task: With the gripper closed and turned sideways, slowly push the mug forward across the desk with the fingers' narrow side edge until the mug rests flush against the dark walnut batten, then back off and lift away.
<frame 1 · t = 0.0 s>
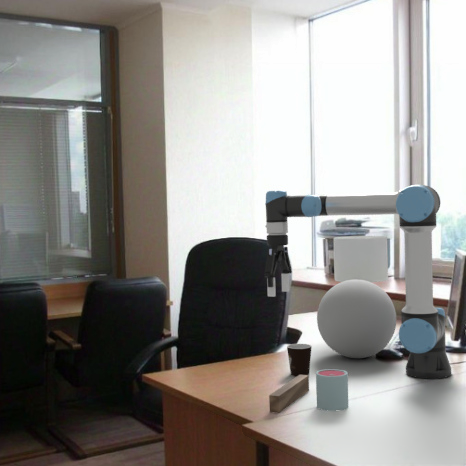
hand: (278, 294, 253), 28 cm above the table, fingers open, 13 cm apart
sphere: (357, 357, 275), on the table
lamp: (362, 340, 308), on the table
mug: (335, 405, 212), on the table
coffee mug: (300, 373, 252), on the table
batten: (290, 400, 217), on the table
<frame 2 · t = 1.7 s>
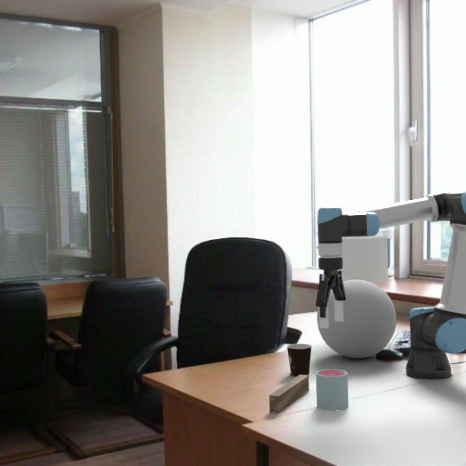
hand: (331, 324, 223), 22 cm above the table, fingers open, 13 cm apart
nothing on the table moved.
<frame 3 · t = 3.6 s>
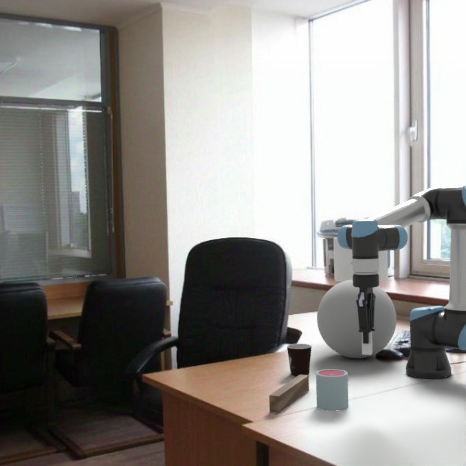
hand: (367, 354, 207), 16 cm above the table, fingers closed
nothing on the table moved.
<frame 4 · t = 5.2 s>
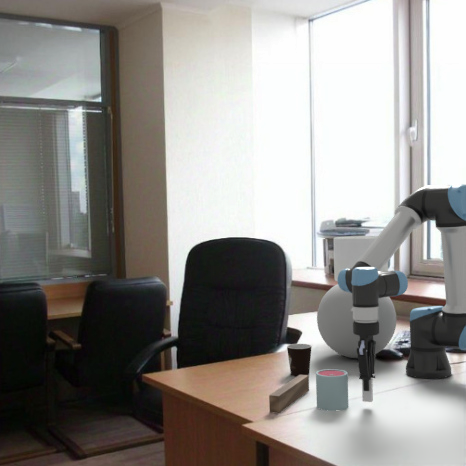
hand: (367, 400, 208), 2 cm above the table, fingers closed
nothing on the table moved.
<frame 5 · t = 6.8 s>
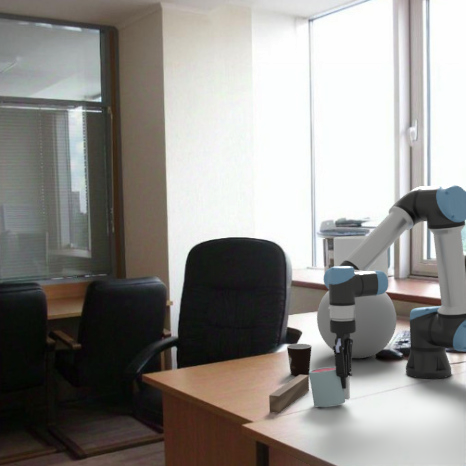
hand: (344, 398, 210), 2 cm above the table, fingers closed
mug: (333, 402, 212), point 1 cm above the table, touching gripper, hand
everything else where it was.
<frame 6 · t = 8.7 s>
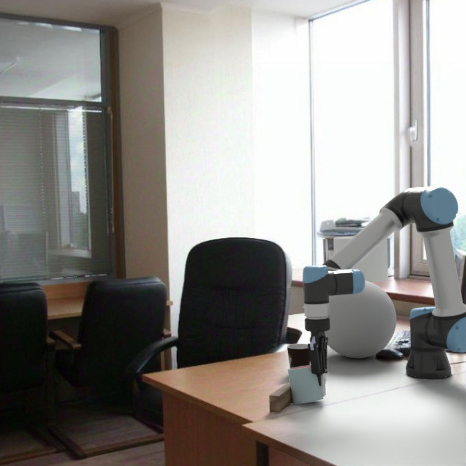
hand: (320, 395, 213), 2 cm above the table, fingers closed
mug: (313, 399, 215), point 1 cm above the table, touching batten, gripper, hand
everything else where it was.
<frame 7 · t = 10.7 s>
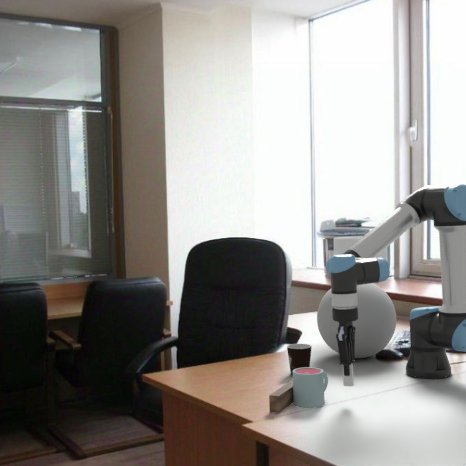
hand: (348, 385, 212), 5 cm above the table, fingers closed
mug: (313, 402, 215), on the table
everything else where it was.
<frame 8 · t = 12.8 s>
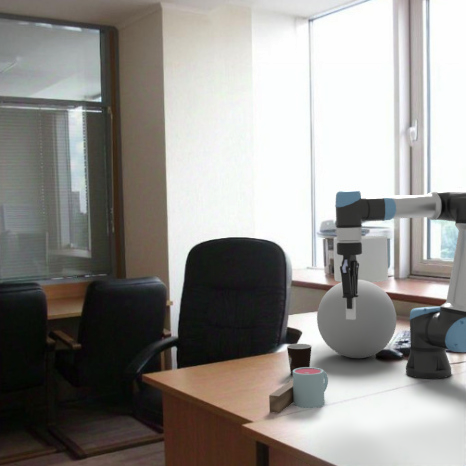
hand: (351, 318, 217), 24 cm above the table, fingers closed
nothing on the table moved.
at the end: mug inside the target area on the table beside the batten (1.2 cm from its centre), on the table; mug tilted 0°; mug moved 6.9 cm from its start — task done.
